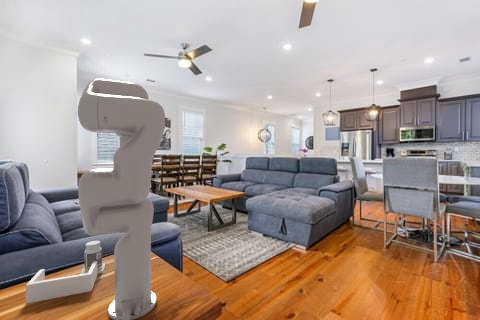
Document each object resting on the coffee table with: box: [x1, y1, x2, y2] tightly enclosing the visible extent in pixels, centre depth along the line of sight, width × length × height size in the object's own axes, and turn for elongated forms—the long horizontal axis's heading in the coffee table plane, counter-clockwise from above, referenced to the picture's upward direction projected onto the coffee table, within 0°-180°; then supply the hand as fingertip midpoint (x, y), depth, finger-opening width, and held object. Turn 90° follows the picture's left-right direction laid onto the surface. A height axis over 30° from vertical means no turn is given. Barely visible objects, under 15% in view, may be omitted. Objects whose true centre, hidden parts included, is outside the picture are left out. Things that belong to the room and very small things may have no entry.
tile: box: [79, 262, 107, 275], centre depth 87 cm, size 8×8×1 cm
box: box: [25, 261, 98, 304], centre depth 75 cm, size 10×16×6 cm, turn 113°
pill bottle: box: [83, 240, 103, 272], centre depth 87 cm, size 6×6×10 cm
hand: (130, 193), depth 93 cm, fingers open, 9 cm apart
